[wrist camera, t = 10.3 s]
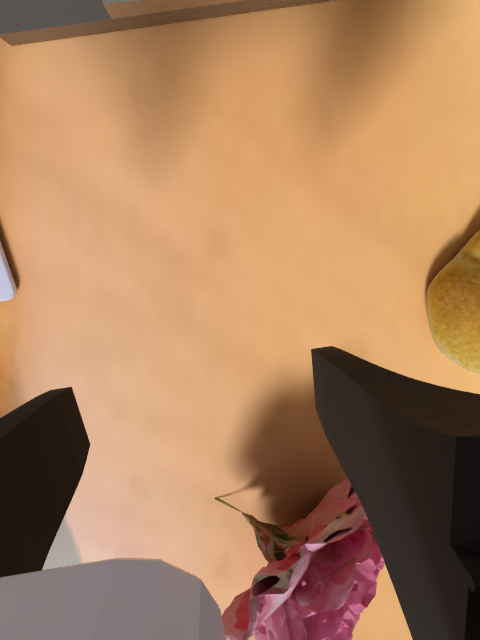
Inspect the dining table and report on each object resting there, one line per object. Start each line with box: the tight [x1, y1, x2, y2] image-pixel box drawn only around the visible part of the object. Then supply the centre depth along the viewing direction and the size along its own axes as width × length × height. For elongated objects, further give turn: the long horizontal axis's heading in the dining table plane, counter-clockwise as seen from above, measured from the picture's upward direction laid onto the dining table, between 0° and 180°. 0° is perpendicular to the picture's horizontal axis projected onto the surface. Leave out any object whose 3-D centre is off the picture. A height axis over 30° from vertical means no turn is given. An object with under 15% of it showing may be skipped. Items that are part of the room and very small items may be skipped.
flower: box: [215, 478, 385, 640], centre depth 22 cm, size 11×10×10 cm
